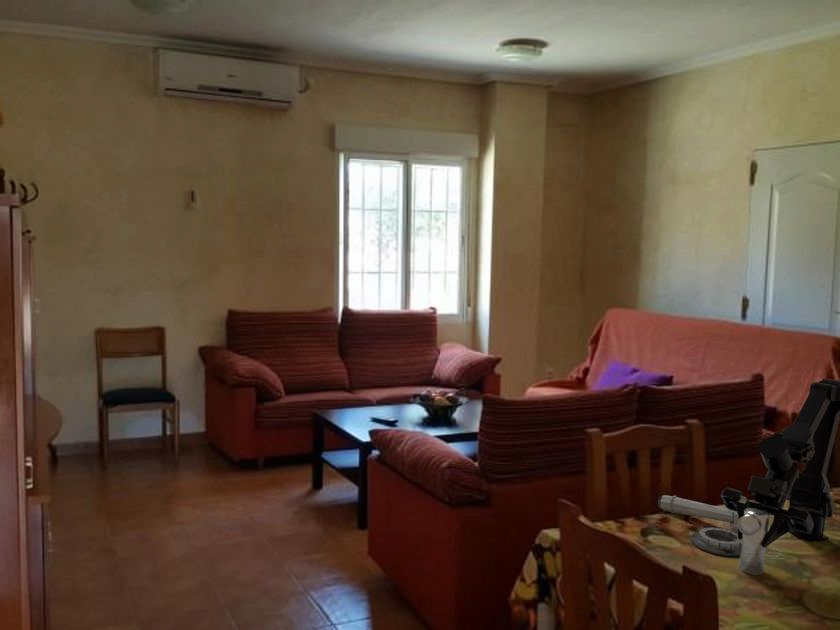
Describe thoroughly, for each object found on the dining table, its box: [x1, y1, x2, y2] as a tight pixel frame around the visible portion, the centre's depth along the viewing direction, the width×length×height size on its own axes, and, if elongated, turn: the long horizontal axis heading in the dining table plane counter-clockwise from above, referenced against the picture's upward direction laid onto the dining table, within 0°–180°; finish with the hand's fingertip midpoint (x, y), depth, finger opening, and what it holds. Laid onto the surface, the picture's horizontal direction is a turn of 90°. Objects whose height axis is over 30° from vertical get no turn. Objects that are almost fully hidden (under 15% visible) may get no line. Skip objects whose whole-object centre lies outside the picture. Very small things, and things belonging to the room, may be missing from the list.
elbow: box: [737, 508, 770, 576], centre depth 169 cm, size 7×5×13 cm
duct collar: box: [690, 527, 742, 558], centre depth 183 cm, size 13×13×2 cm
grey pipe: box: [657, 494, 739, 534], centre depth 197 cm, size 5×7×25 cm
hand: (751, 542), depth 169 cm, fingers closed on elbow, 5 cm apart
